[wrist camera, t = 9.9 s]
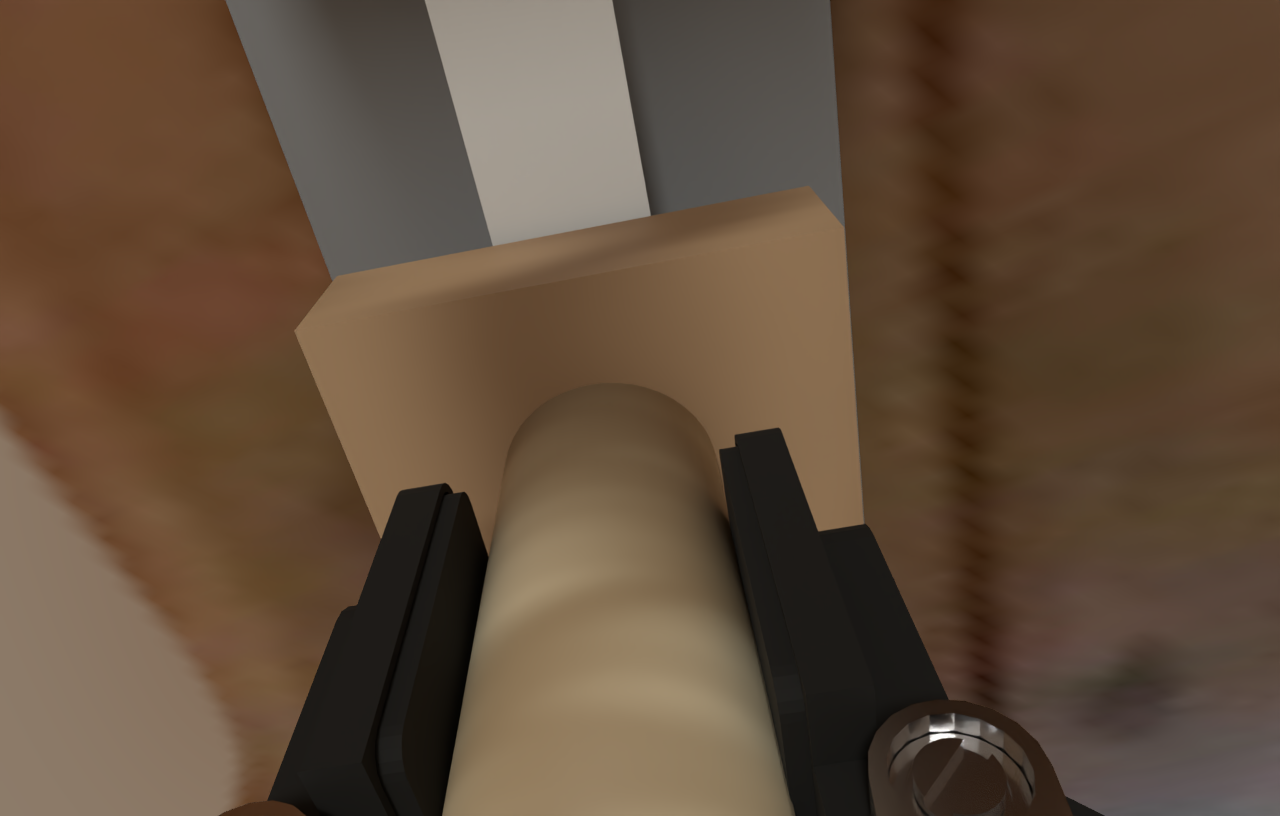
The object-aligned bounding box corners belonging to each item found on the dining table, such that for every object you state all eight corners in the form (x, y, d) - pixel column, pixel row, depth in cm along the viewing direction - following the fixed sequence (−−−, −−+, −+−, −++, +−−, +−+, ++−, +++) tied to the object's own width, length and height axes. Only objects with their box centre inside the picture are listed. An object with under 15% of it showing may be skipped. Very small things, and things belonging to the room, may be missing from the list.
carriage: (809, 185, 12) (1340, 818, 3) (837, 518, 15) (1163, 1320, 6) (337, 275, 13) (-270, 1059, 4) (453, 584, 15) (262, 1430, 7)
